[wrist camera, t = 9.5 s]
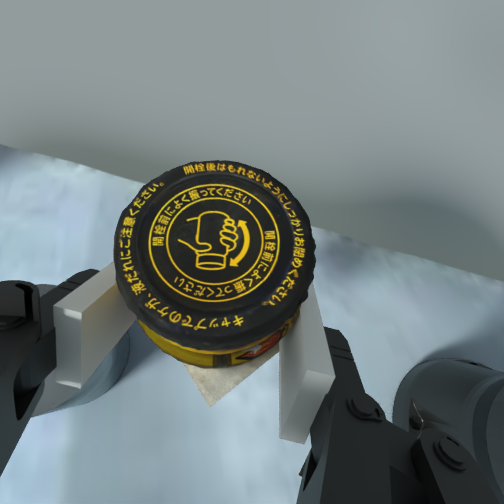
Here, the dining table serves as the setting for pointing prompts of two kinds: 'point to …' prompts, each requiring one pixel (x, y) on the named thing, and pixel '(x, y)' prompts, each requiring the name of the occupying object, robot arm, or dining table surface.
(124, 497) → the dining table surface
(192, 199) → the condiment
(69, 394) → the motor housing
